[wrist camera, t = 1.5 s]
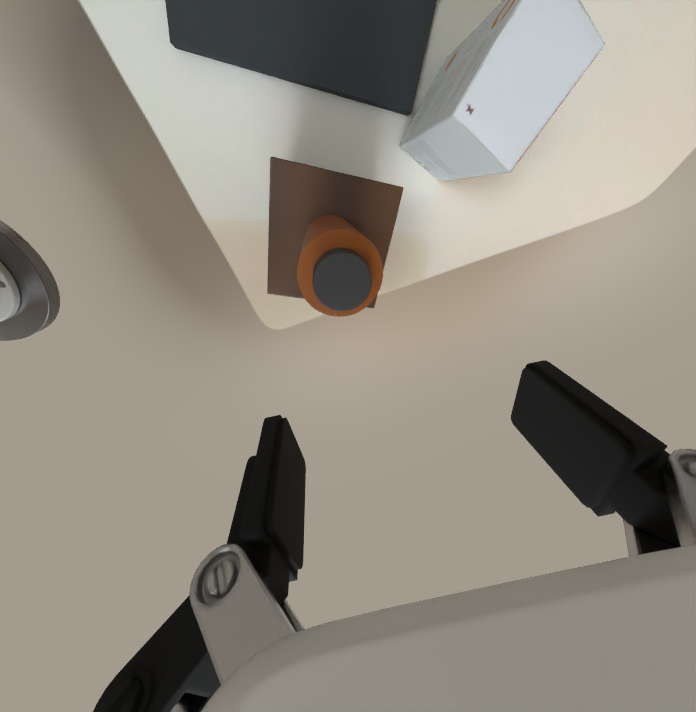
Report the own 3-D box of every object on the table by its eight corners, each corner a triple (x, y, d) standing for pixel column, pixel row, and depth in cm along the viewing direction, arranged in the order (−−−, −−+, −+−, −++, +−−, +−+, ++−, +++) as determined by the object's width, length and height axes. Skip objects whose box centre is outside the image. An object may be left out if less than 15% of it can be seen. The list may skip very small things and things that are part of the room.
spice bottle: (301, 267, 22) (291, 320, 13) (306, 209, 20) (298, 222, 10) (351, 275, 23) (376, 330, 14) (361, 220, 21) (400, 241, 11)
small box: (439, 183, 30) (509, 176, 19) (397, 146, 28) (450, 114, 17) (490, 103, 27) (610, 41, 16) (447, 54, 25) (552, -57, 14)
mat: (175, 48, 23) (170, 42, 22) (152, -164, 18) (143, -181, 17) (407, 115, 27) (411, 113, 26) (443, -41, 22) (448, -50, 21)
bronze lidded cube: (281, 263, 33) (267, 293, 23) (286, 170, 28) (270, 156, 18) (357, 275, 35) (374, 308, 25) (374, 190, 30) (404, 187, 20)
